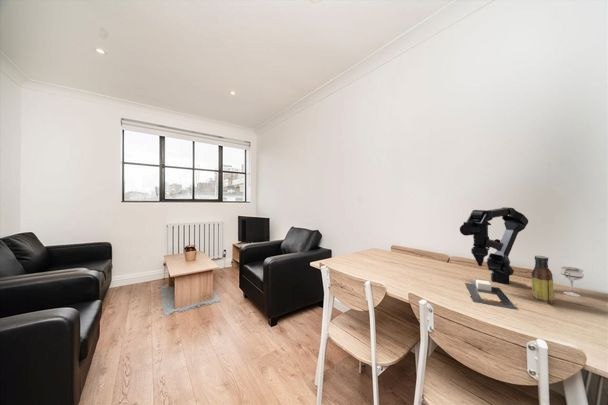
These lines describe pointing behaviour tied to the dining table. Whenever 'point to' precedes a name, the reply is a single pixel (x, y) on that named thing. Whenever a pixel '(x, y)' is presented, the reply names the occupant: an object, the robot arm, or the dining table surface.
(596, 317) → the dining table surface
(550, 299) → the sauce bottle
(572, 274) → the wineglass
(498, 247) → the robot arm
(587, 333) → the dining table surface
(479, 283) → the clip block
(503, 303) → the plate
